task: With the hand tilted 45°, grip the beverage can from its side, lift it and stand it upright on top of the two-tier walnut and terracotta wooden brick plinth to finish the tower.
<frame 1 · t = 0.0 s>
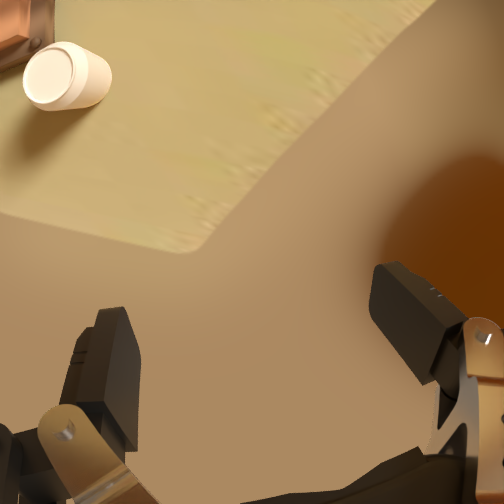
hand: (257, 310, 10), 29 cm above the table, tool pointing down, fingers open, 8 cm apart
brick plinth: (7, 21, 21), on the table
beverage can: (88, 81, 29), on the table
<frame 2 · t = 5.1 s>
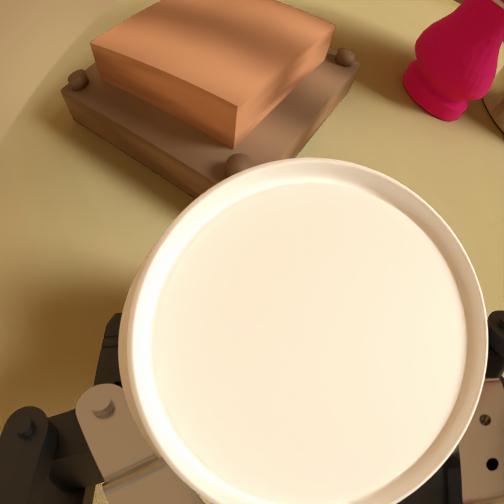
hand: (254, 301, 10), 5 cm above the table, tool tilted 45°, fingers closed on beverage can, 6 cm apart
brick plinth: (214, 94, 20), on the table
beverage can: (248, 354, 15), on the table, touching gripper
pepper mill: (430, 96, 23), on the table
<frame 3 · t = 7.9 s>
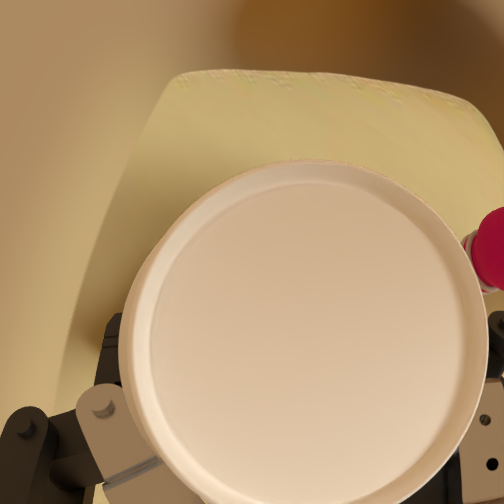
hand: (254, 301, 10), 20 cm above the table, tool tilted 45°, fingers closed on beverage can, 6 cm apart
beverage can: (248, 355, 15), point 14 cm above the table, touching gripper
pepper mill: (402, 298, 32), on the table
when the fingers open (12 cm above the table, at t = 10.5 s): beverage can stays where it is, resting on brick plinth.
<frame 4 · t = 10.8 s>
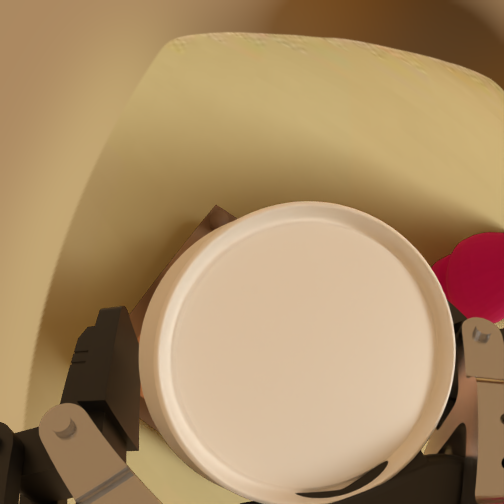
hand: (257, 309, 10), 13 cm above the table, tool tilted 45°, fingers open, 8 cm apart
brick plinth: (239, 355, 21), on the table
beverage can: (250, 357, 16), point 6 cm above the table, touching brick plinth
pepper mill: (449, 292, 25), on the table
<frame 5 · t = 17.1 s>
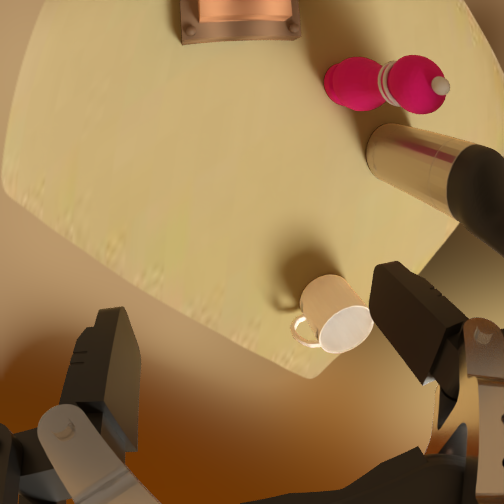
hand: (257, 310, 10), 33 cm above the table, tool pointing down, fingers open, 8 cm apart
pepper mill: (343, 84, 38), on the table
mug: (315, 299, 53), on the table
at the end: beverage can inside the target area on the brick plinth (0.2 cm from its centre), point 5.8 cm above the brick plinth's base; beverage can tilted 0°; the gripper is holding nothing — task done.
